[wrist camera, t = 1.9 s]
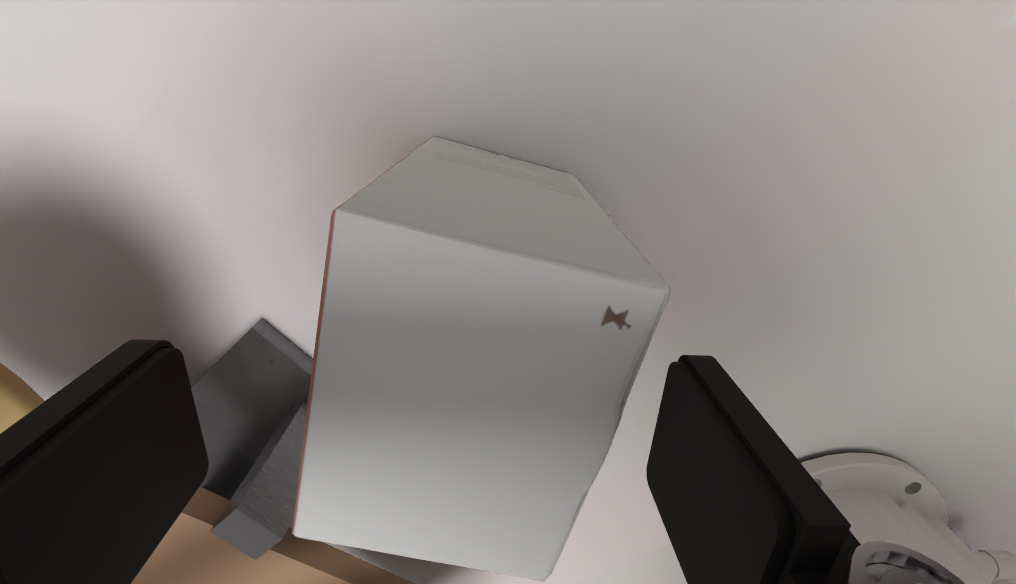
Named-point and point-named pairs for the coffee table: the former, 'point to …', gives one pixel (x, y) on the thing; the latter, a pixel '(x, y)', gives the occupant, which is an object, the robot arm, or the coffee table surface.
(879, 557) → the robot arm
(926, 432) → the coffee table surface
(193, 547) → the beam
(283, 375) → the beam stand
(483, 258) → the small box
